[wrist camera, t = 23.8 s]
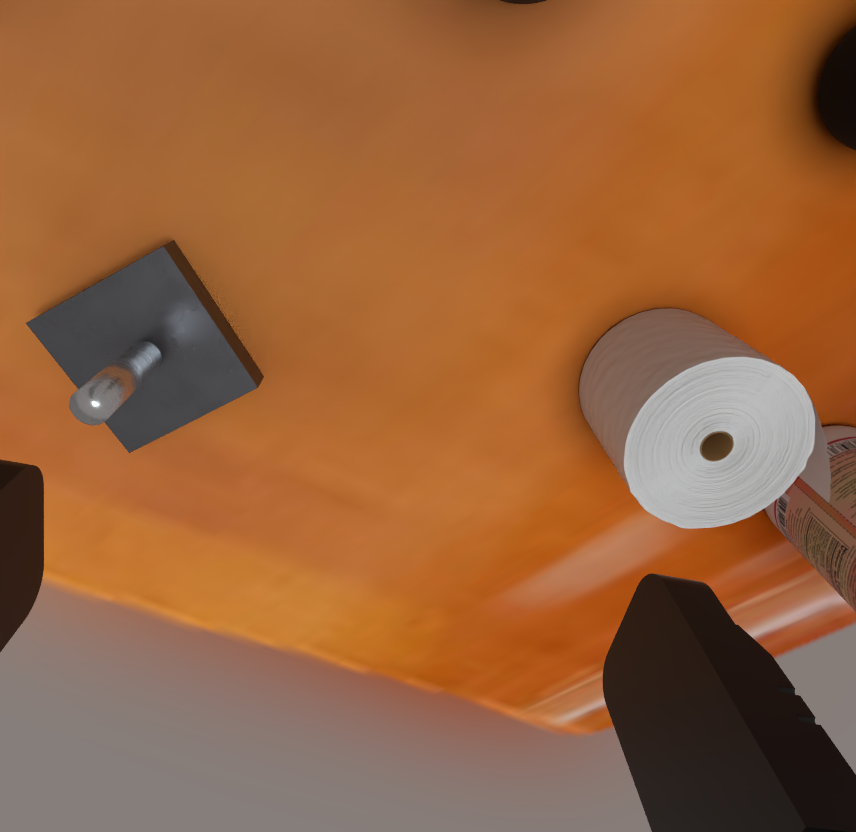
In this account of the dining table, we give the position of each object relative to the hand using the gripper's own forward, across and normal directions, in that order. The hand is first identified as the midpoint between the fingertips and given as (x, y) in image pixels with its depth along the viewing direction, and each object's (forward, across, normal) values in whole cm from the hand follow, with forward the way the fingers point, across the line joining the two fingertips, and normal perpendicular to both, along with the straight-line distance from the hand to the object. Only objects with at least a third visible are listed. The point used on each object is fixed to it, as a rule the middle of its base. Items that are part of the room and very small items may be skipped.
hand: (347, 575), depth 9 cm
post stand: (+34, +13, +11) cm, 38 cm away
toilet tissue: (+34, -21, +6) cm, 41 cm away
